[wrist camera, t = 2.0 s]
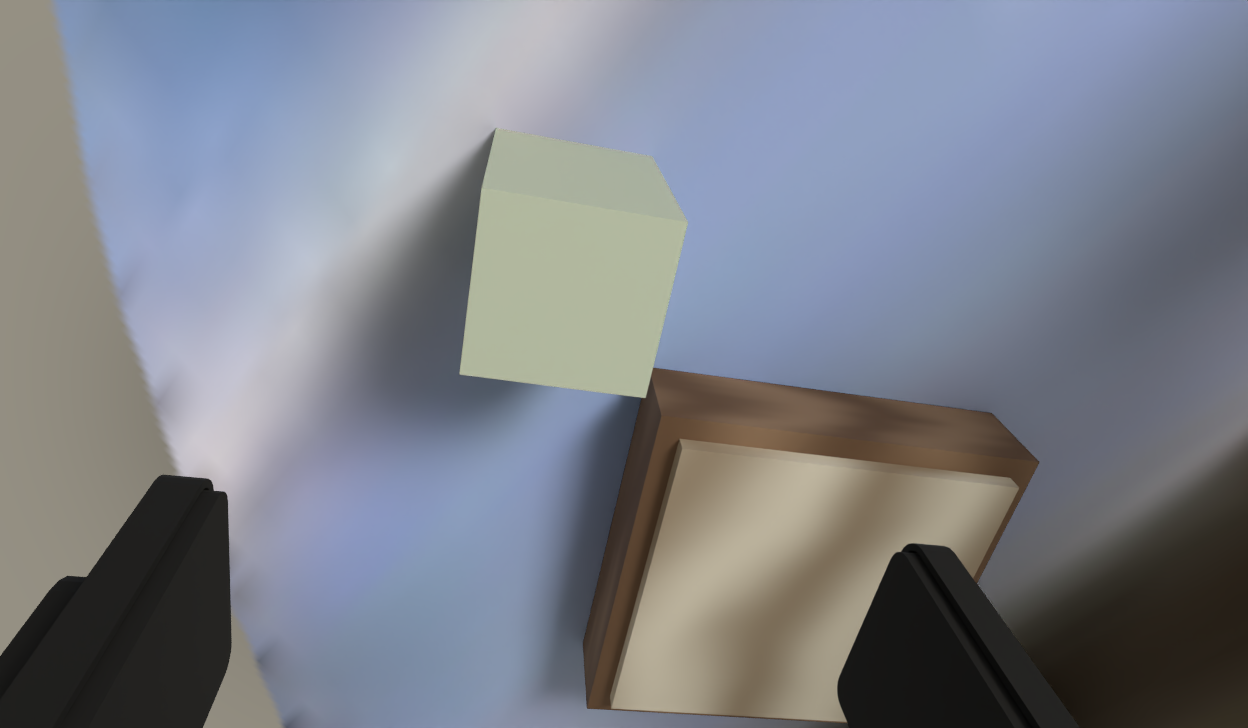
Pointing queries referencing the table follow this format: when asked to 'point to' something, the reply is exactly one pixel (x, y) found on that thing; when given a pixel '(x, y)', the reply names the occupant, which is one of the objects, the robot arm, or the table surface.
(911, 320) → the table surface
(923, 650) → the robot arm
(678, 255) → the block
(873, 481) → the base
